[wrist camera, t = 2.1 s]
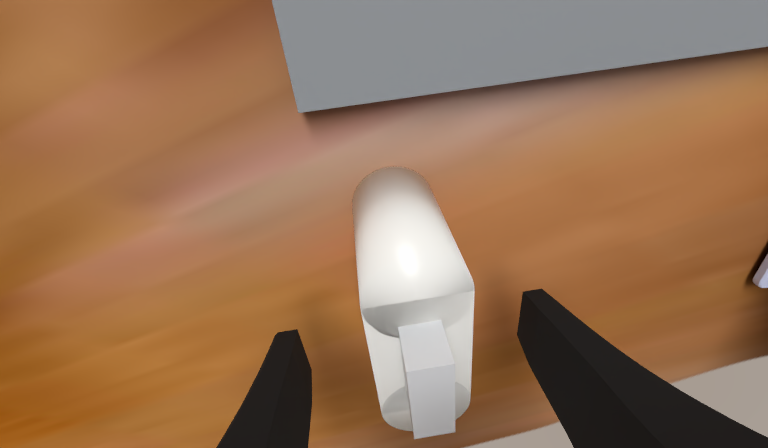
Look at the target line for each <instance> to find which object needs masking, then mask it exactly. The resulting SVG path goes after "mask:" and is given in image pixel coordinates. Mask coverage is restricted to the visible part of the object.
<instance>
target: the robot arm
mask: <svg viewBox="0 0 768 448" xmlns="http://www.w3.org/2000/svg"><path fill="white" fill-rule="evenodd" d="M753 283H754V284H756V285H757V286H759V287H760V288H768V254H767V255H766V257H765V259H764V260H763V262H762V264H761V265H760V267H759V269H758V270H757V272H756V274H755V276H754V277H753ZM517 336H518V338H519V341H520V343H521V346H522V348H523V351H524V353H525V356H526V358H527V361H528V363H529V365H530V367H531V369H532V371H533V373H534V375H535V377H536V378H537V380H538V382H539V384H540V386H541V388H542V389H543V391H544V393H545V395H546V397H547V399H548V400H549V402H550V404H551V406H552V408H553V409H554V411H555V413H556V415H557V417H558V418H559V420H560V422H561V424H562V426H563V428H564V429H565V431H566V433H567V435H568V437H569V439H570V441H571V443H572V445H573V447H574V448H768V437H766V436H764V435H761V434H759V433H757V432H755V431H753V430H751V429H749V428H747V427H745V426H744V425H742V424H739V423H738V422H736V421H734V420H732V419H730V418H728V417H727V416H725V415H723V414H721V413H719V412H717V411H715V410H714V409H712V408H710V407H708V406H707V405H704V404H703V403H701V402H699V401H697V400H696V399H694V398H692V397H691V396H689V395H687V394H685V393H684V392H682V391H680V390H679V389H677V388H675V387H674V386H672V385H671V384H669V383H668V382H666V381H664V380H663V379H661V378H660V377H658V376H656V375H655V374H653V373H652V372H650V371H649V370H647V369H646V368H644V367H643V366H641V365H640V364H638V363H637V362H635V361H634V360H632V359H631V358H630V357H628V356H627V355H625V354H624V353H623V352H621V351H620V350H618V349H617V348H616V347H614V346H613V345H612V344H610V343H609V342H608V341H606V340H605V339H604V338H602V337H601V336H600V335H598V334H597V333H596V332H595V331H593V330H592V329H591V328H589V327H588V326H587V325H586V324H584V323H583V322H582V321H581V320H579V319H578V318H577V317H576V316H574V315H573V314H572V313H571V312H570V311H568V310H567V309H566V308H565V307H563V306H562V305H561V304H560V303H559V302H557V301H556V300H555V299H554V298H553V297H551V296H550V295H549V294H548V293H546V292H545V291H544V290H543V289H537V290H531V291H525V292H523V296H522V303H521V310H520V317H519V325H518V332H517ZM311 408H312V372H311V367H310V364H309V361H308V358H307V356H306V353H305V350H304V347H303V344H302V341H301V339H300V336H299V333H298V330H297V329H296V330H290V331H284V332H278V333H277V334H276V335H275V337H274V339H273V342H272V344H271V346H270V349H269V351H268V353H267V355H266V357H265V360H264V362H263V364H262V366H261V368H260V370H259V372H258V374H257V376H256V378H255V380H254V382H253V384H252V386H251V388H250V390H249V392H248V394H247V396H246V398H245V400H244V401H243V403H242V405H241V407H240V409H239V410H238V412H237V414H236V416H235V417H234V419H233V421H232V422H231V424H230V426H229V428H228V429H227V431H226V433H225V435H224V436H223V438H222V439H221V441H220V443H219V444H218V446H217V447H216V448H308V440H309V430H310V419H311Z"/></svg>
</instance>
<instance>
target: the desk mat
mask: <svg viewBox="0 0 768 448" xmlns="http://www.w3.org/2000/svg"><path fill="white" fill-rule="evenodd" d="M272 3H273V7H274V11H275V16H276V20H277V24H278V28H279V32H280V37H281V41H282V45H283V49H284V54H285V58H286V62H287V66H288V71H289V75H290V79H291V83H292V88H293V92H294V96H295V100H296V104H297V109H298V113H302V112H309V111H316V110H323V109H330V108H337V107H344V106H352V105H359V104H366V103H373V102H380V101H387V100H394V99H401V98H408V97H415V96H422V95H429V94H436V93H443V92H450V91H458V90H465V89H472V88H479V87H486V86H493V85H500V84H507V83H514V82H521V81H528V80H535V79H542V78H549V77H556V76H564V75H571V74H578V73H585V72H592V71H599V70H606V69H613V68H620V67H627V66H634V65H641V64H648V63H655V62H662V61H669V60H677V59H684V58H691V57H698V56H705V55H712V54H719V53H726V52H733V51H740V50H747V49H754V48H761V47H768V0H272Z"/></svg>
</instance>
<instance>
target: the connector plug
mask: <svg viewBox="0 0 768 448" xmlns="http://www.w3.org/2000/svg"><path fill="white" fill-rule="evenodd" d="M352 210H353V223H354V235H355V248H356V260H357V273H358V285H359V298H360V309H361V314H362V319H363V324H364V329H365V334H366V338H367V343H368V348H369V353H370V358H371V363H372V368H373V373H374V378H375V383H376V388H377V393H378V398H379V403H380V408H381V412H382V416H383V418H384V420H385V421H386V422H387V423H388V424H389V425H391V426H393V427H395V428H397V429H401V430H406V431H413V434H414V439H418V438H424V437H430V436H435V435H441V434H447V433H453V432H455V420H456V419H457V418H459V417H460V416H461V415H462V414H463V413H464V412H465V411H466V410H467V408H468V406H469V404H470V397H471V370H472V344H473V318H474V282H473V279H472V277H471V275H470V273H469V270H468V268H467V266H466V264H465V262H464V260H463V257H462V255H461V253H460V251H459V249H458V247H457V244H456V242H455V240H454V238H453V236H452V234H451V231H450V229H449V227H448V225H447V223H446V221H445V218H444V216H443V214H442V212H441V210H440V208H439V205H438V203H437V201H436V199H435V197H434V195H433V192H432V190H431V188H430V186H429V184H428V182H427V181H426V180H425V179H424V177H423V176H421V175H420V174H419V173H417V172H416V171H414V170H411V169H409V168H405V167H397V166H393V167H386V168H382V169H379V170H376V171H374V172H372V173H371V174H369V175H368V176H367V177H365V178H364V179H363V180H362V181H361V182H360V184H359V185H358V186H357V188H356V190H355V192H354V195H353V200H352Z"/></svg>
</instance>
